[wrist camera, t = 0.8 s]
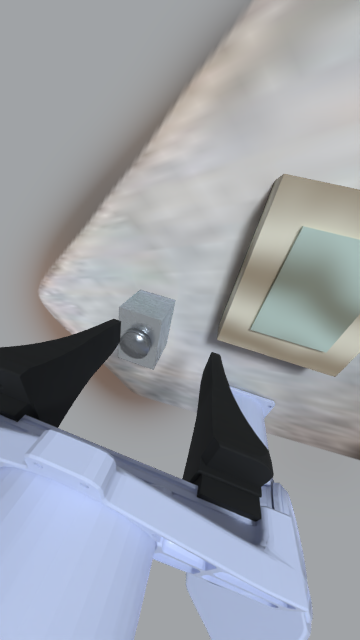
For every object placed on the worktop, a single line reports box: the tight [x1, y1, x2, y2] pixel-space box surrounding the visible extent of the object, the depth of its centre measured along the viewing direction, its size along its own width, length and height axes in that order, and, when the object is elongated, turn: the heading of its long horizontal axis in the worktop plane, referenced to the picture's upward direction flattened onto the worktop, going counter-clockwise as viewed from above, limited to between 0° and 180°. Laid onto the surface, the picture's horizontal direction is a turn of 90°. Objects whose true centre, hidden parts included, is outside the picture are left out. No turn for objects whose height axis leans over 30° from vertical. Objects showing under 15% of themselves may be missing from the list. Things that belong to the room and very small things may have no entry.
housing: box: [118, 290, 176, 370], centre depth 21 cm, size 7×4×6 cm, turn 168°
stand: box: [217, 174, 360, 377], centre depth 16 cm, size 14×12×3 cm
